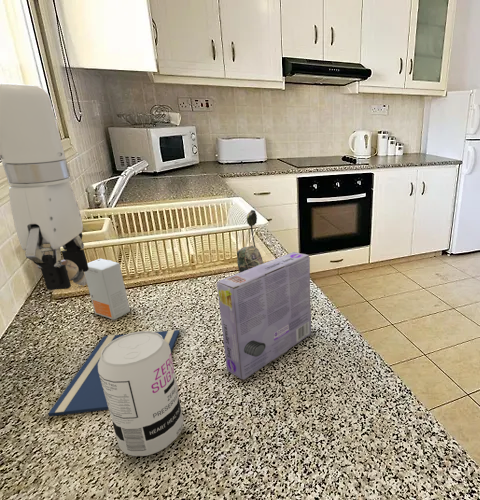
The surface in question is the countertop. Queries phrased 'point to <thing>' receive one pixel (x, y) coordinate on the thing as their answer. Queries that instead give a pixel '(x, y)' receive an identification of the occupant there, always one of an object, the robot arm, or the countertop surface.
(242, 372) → the cake pan box
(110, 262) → the cosmetic box
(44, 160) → the robot arm
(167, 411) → the supplement can
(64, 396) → the towel
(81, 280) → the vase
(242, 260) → the plant with pod
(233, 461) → the countertop surface
